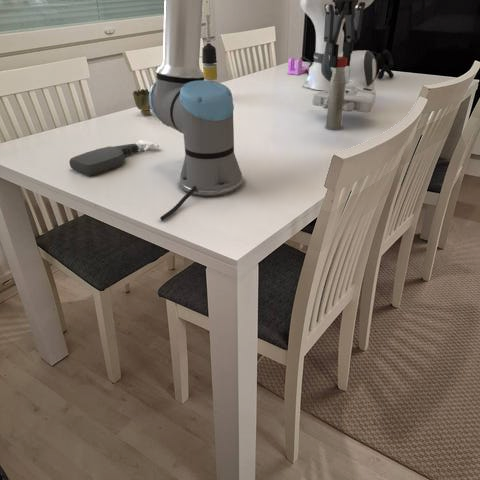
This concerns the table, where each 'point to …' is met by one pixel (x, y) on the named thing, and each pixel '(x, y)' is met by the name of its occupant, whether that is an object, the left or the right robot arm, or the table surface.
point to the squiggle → (381, 63)
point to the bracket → (298, 68)
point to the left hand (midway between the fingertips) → (339, 66)
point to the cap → (342, 62)
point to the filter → (209, 57)
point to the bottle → (336, 99)
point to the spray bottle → (106, 157)
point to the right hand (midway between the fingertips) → (334, 107)
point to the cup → (142, 101)
